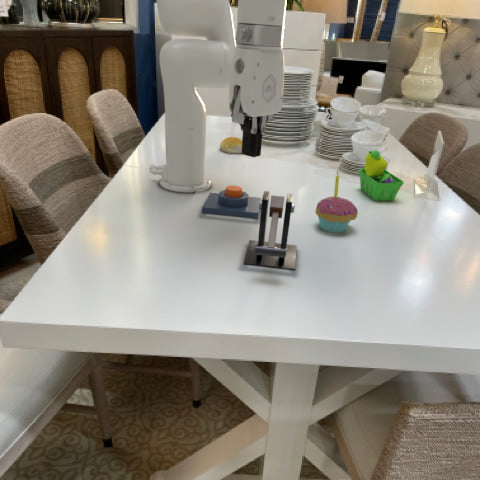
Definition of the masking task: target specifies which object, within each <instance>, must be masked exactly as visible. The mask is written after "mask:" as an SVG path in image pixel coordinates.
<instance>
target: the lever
mask: <svg viewBox="0 0 480 480" xmlns="http://www.w3.org/2000/svg"><path fill="white" fill-rule="evenodd" d="M269 203H270V205H269V210H268V217H269V218H271V220H270V227H269V234H268V241H267V242H268V247H266V246H257V245H256V246H255V254H256V255H265V256H274V257H282V258H286V251H287V249H284V248H275V243H276V240H277V230H278V225H279V224H278V223H279V219H283V212H284V205H285V204H284V203H285V196H282V195H271V196H270V201H269Z"/></svg>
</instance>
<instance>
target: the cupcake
mask: <svg viewBox="0 0 480 480" xmlns="http://www.w3.org/2000/svg"><path fill="white" fill-rule="evenodd" d="M339 182H340V175H339V171H336V175H335V181H334V191H333V192H334V193H333V196H327V197H325V198H323V199H322V198H321V200H319V201H318V202H317V204H316V207H315V215H317V218H318V221H319V227H320V228H321V230H323V231H326V232H331V233H342V232H344V231H345V230H346V228H347V227H348V225H349V224H350V222H351V221H354V220H356V219H357V218H358V214H359V211H358V207H357V206H356V205H355V204H354V203H353V202H352V201H351V200H349V199H348V198H344V197H340V196H338V193H339Z"/></svg>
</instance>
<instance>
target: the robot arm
mask: <svg viewBox="0 0 480 480" xmlns="http://www.w3.org/2000/svg"><path fill="white" fill-rule="evenodd" d="M155 1H156V7H157V13H158V18H159V22H160V26H161V28H162V29H163V31H164V32H165V33H166V34H168V35H171V36H176V37H186V38H175V39H170V40H168V41H166V42H165V43H164V44H163V45H162V46H161V48H160V51H159V56H158V57H159V68H160V75H161V81H162V87H163V88H162V89H163V99H164V129H165V130H164V132H165V133H164V135H165V164H162V165H158V164H149V170H148V171H149V173H151V175H152V176H161V177H160V178H159V184H160V186H161V187H162V188H163V189H165V190H168V191H171V192H176V193H187V194H188V193H196V192H197V191H198V190H204V191H206V190H209V189H210V188H211V183H212V182H211V180H210V179H209V178H208V177H206V175H205V174H206V144H207V143H206V142H207V141H206V140H207V137H206V136H207V109H206V105H205V103H204V102H203V100H202V98H201V97H200V95H199V94H198V92H197V90H199V89H200V90H201V89H227V88H229V89H228V110H229V111H230V112H231V113H232V115H231V122H232V123H235V124H239V126H240V131H241V132H242V138H241V140H242V153H241V155H244V156H247V157H251V158H256V157H260V156H261V154H262V143H263V134H264V133H265V130H266V125H267V123H268V121H269V120H271V119H272V118H274V117H275V114H278V113H279V112H281V111H282V108H283V101H284V89H285V87H284V86H285V55H284V49H283V42H284V41H283V39H284V33H285V32H284V29H285V19H286V9H287V0H237V18H236V22H237V23H236V33H235V27H234V20H233V13H232V9H231V8H232V7H231V4H230V1H229V0H155ZM235 34H236V35H235ZM187 37H188V38H187ZM199 38H201V39H199ZM202 38H205V39H202Z"/></svg>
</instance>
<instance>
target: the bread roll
mask: <svg viewBox="0 0 480 480" xmlns="http://www.w3.org/2000/svg"><path fill="white" fill-rule="evenodd" d="M219 148H220V150H222V151H223V152H224V153H226V154H233V155H234V154H235V155H236V154H238V155H240V154H241V155H242V138H239V137H236V136H228V137H226V138H224V139H223V140H221V142H220V144H219Z"/></svg>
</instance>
